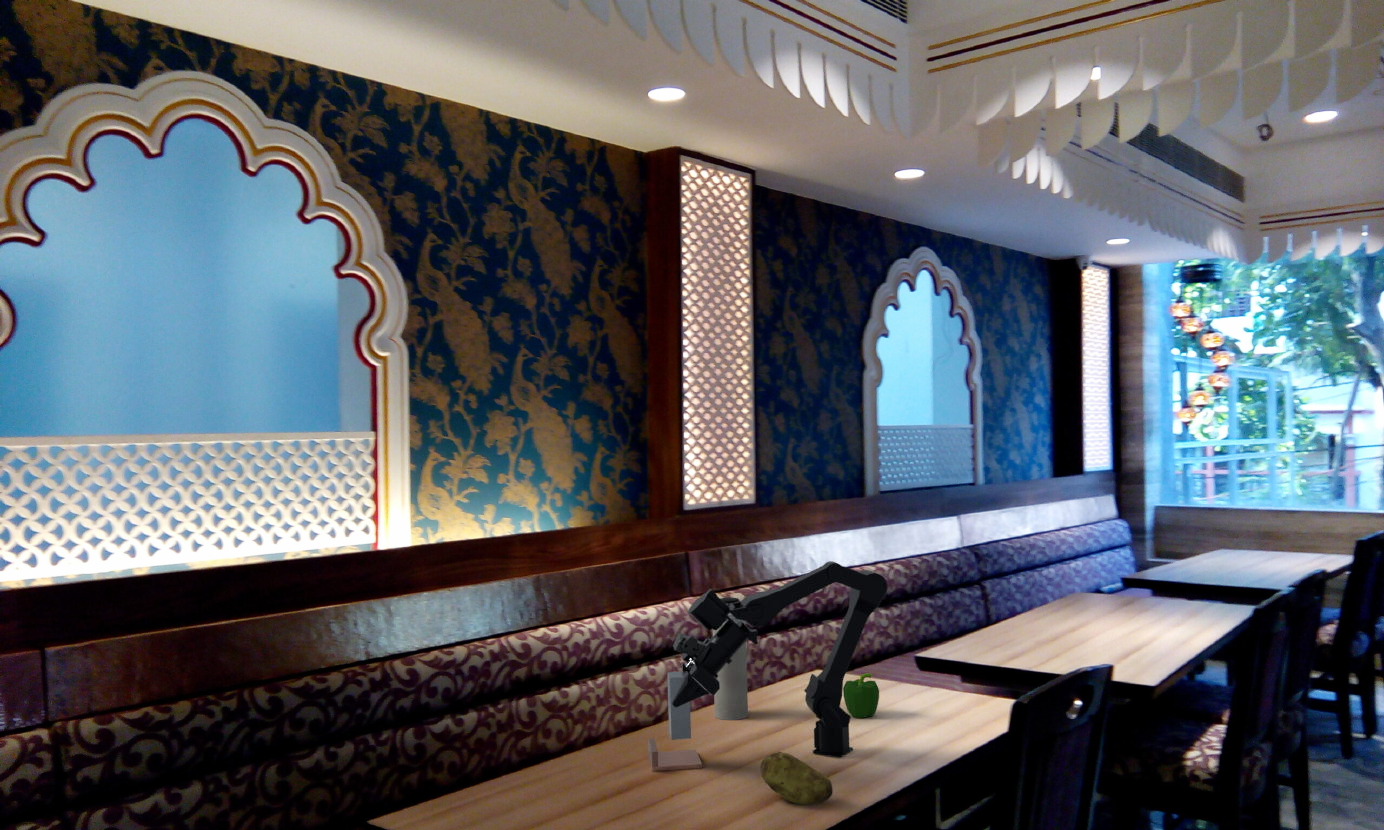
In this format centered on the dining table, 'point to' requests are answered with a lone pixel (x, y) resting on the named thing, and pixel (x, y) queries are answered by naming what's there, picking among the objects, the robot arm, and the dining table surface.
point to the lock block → (678, 708)
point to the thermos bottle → (732, 681)
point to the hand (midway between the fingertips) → (672, 702)
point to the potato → (795, 779)
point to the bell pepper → (861, 697)
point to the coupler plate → (672, 758)
